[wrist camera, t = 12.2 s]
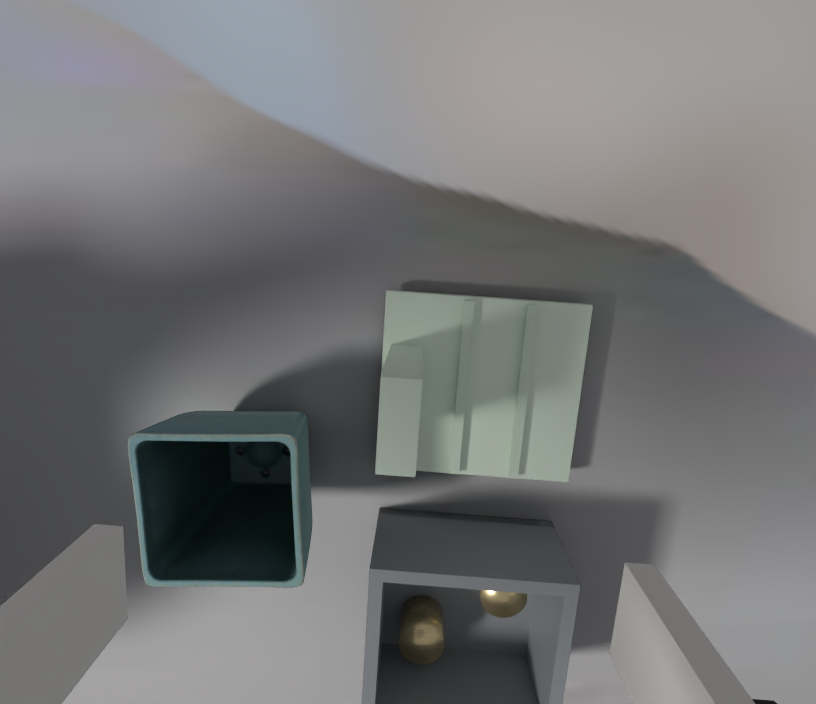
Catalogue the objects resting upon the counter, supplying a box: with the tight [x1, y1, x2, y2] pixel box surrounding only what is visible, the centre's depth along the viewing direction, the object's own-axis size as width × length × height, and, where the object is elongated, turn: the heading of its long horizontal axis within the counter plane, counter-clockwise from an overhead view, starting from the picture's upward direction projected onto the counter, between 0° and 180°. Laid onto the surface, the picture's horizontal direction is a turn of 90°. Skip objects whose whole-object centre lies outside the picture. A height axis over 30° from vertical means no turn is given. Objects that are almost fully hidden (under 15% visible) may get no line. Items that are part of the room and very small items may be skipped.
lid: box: [375, 290, 593, 482], centre depth 30 cm, size 13×12×10 cm
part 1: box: [399, 595, 444, 664], centre depth 36 cm, size 3×3×3 cm
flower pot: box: [128, 411, 312, 588], centre depth 32 cm, size 9×9×9 cm
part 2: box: [479, 590, 527, 618], centre depth 35 cm, size 3×3×3 cm
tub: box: [362, 508, 580, 704], centre depth 35 cm, size 12×11×7 cm
